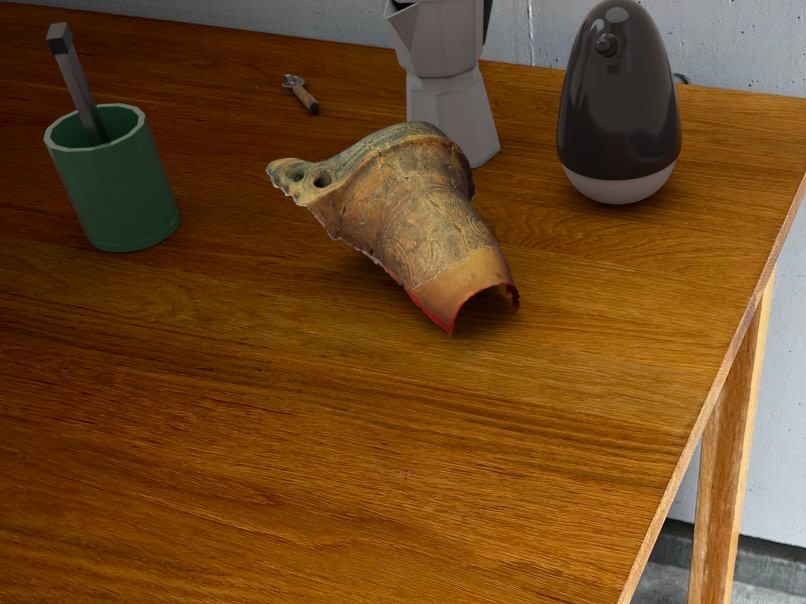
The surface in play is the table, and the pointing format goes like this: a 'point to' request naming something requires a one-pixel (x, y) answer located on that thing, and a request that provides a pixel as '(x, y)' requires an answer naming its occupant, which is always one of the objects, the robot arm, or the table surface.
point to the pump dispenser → (618, 106)
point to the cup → (115, 179)
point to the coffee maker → (446, 69)
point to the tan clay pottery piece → (405, 214)
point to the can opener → (301, 92)
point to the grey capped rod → (77, 82)
